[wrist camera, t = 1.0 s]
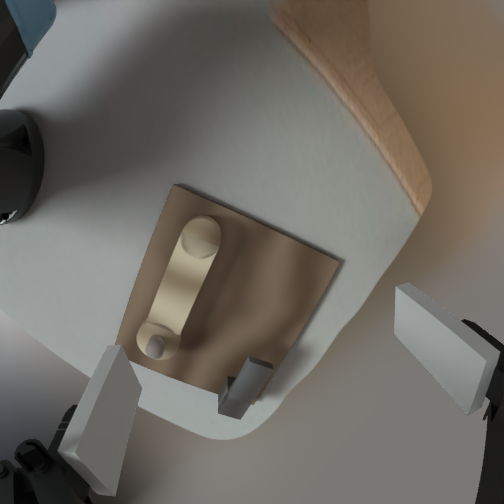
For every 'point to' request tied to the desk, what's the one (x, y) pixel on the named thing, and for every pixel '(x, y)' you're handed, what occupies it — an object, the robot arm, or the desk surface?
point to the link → (179, 288)
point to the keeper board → (229, 302)
